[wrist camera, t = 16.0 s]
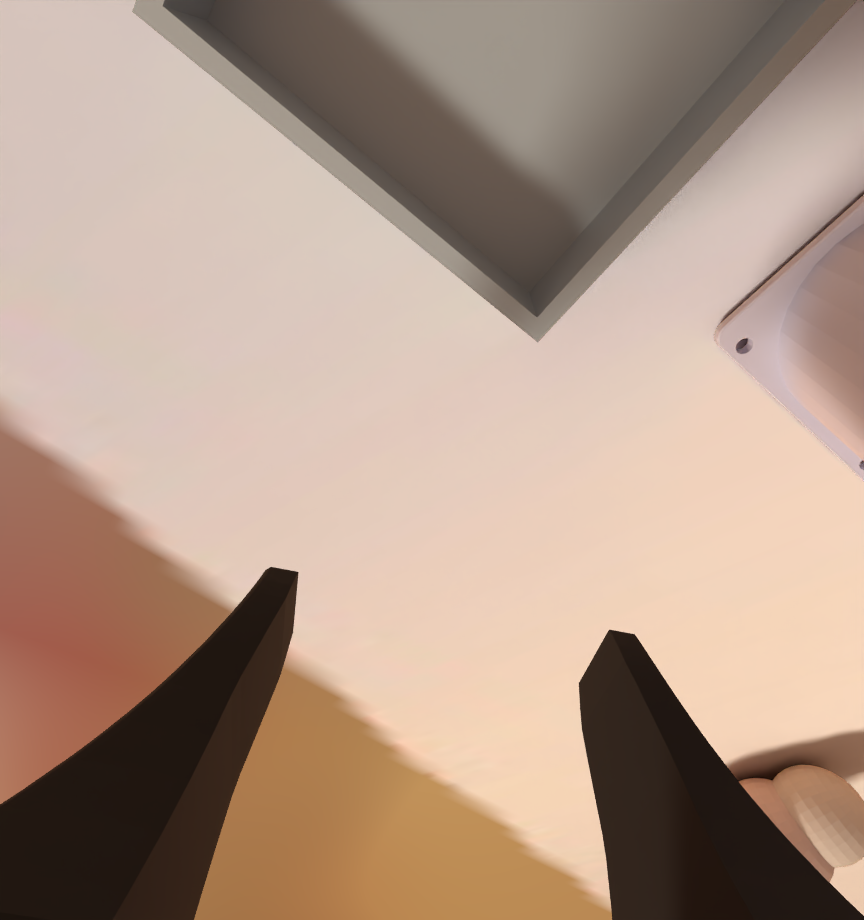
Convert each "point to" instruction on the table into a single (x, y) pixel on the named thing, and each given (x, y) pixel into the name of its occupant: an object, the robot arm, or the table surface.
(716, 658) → the table surface
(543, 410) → the table surface
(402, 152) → the tote
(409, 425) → the table surface
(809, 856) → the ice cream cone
